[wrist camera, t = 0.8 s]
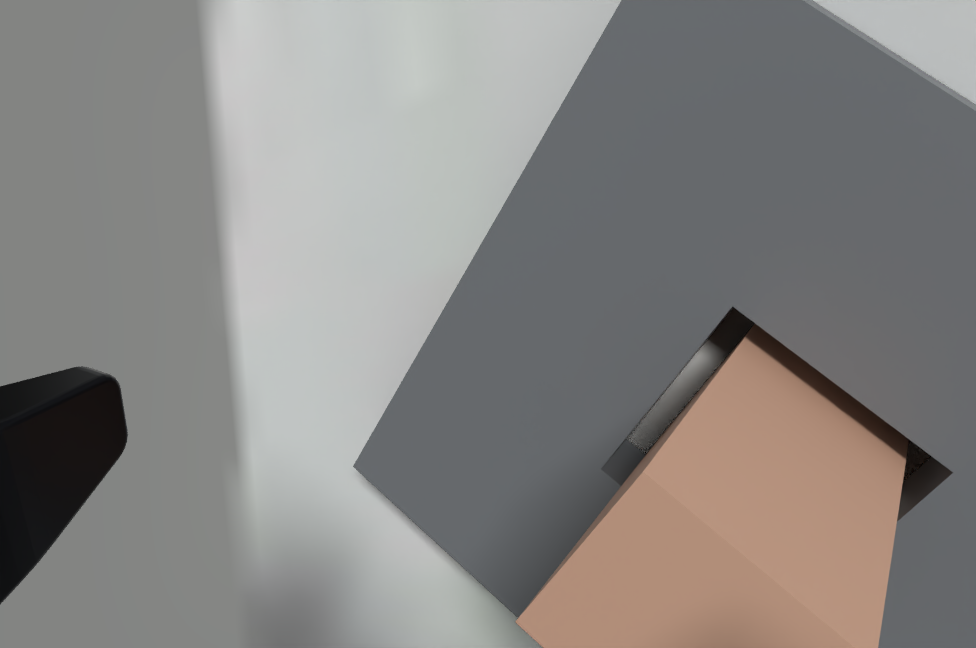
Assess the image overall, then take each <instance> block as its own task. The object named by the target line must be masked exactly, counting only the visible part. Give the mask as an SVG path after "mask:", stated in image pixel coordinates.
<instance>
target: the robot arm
mask: <svg viewBox="0 0 976 648" xmlns="http://www.w3.org/2000/svg"><path fill="white" fill-rule="evenodd" d="M127 433H128V432H127V426H126V419H125V413H124V406H123V400H122V394H121V388H120V385H119V383H118V381H117V380H116V378H115V377H113V376H112V375H110V374H107V373H103V372H101V371H98V370H95V369H92V368H89V367H74V368H70V369H66V370H63V371H59V372H55V373H51V374H47V375H43V376H39V377H35V378H32V379H27V380H23V381H20V382H16V383H12V384H8V385H4V386H0V604H1V603H2V602H3V601H4V600H5V599H6V598H7V596H8V595H9V594H10V593H11V592H12V591H13V590H14V589H15V588H16V587H17V586H18V585H19V584H20V582H21V581H22V580H23V579H24V578H25V577H26V576H27V575H28V573H29V572H30V571H31V570H32V569H33V568H34V567H35V566H36V564H37V563H38V562H39V561H40V560H41V558H42V557H43V556H44V555H45V553H46V552H47V550H49V548H50V547H51V546H52V544H53V543H54V542H55V541H56V539H57V538H58V537H59V536H60V534H61V533H62V532H63V530H64V529H65V528H66V526H67V525H68V524H69V522H70V521H71V520H72V518H73V517H74V516H75V515H76V513H77V512H78V511H79V509H80V508H81V507H82V506H83V504H84V503H85V502H86V500H87V499H88V498H89V496H90V495H91V494H92V492H93V491H94V490H95V489H96V487H97V486H98V485H99V483H100V482H101V481H102V480H103V478H104V477H105V476H106V474H107V473H108V472H109V470H110V469H111V467H112V466H113V465H114V464H115V463H116V461H117V460H118V459H119V457H120V456H121V454H122V452H123V450H124V448H125V446H126V443H127V436H128V434H127Z"/></svg>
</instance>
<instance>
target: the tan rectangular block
mask: <svg viewBox="0 0 976 648" xmlns="http://www.w3.org/2000/svg"><path fill="white" fill-rule="evenodd" d="M908 444H909V439H908V438H907V437H905V436H904V435H903V434H901V433H900V432H899V431H897V430H896V429H895V428H893V427H892V426H891V425H889V424H888V423H887V422H885V421H884V420H883V419H881V418H880V417H879V416H877V415H876V414H875V413H873V412H872V411H871V410H869V409H868V408H867V407H865V406H864V405H863V404H861V403H860V402H859V401H857V400H856V399H855V398H854V397H852V396H851V395H850V394H848V393H847V392H846V391H844V390H843V389H842V388H840V387H839V386H838V385H836V384H835V383H834V382H832V381H831V380H830V379H828V378H827V377H826V376H824V375H823V374H822V373H820V372H819V371H818V370H816V369H815V368H814V367H812V366H811V365H810V364H808V363H807V362H806V361H804V360H803V359H802V358H800V357H799V356H798V355H796V354H795V353H794V352H792V351H791V350H790V349H788V348H787V347H786V346H784V345H783V344H782V343H780V342H779V341H778V340H776V339H775V338H774V337H772V336H771V335H770V334H768V333H767V332H766V331H765V330H763V329H762V328H761V327H759V326H758V325H757V324H754V325H753V326H752V328H751V329H750V330H749V331H748V332H747V334H746V335H745V336H744V337H743V338H742V340H741V341H740V342H739V343H738V344H737V346H736V347H735V348H734V349H733V350H732V351H731V353H730V354H729V355H728V356H727V357H726V359H725V360H724V361H723V362H722V363H721V365H720V366H719V367H718V368H717V369H716V371H715V372H714V373H713V374H712V375H711V376H710V378H709V379H708V380H707V381H706V382H705V384H704V385H703V386H702V387H701V388H700V390H699V391H698V392H697V393H696V394H695V396H694V397H693V398H692V399H691V400H690V402H689V403H688V404H687V405H686V406H685V407H684V409H683V410H682V411H681V412H680V413H679V415H678V416H677V417H676V418H675V419H674V421H673V422H672V423H671V424H670V425H669V427H668V428H667V429H666V430H665V431H664V432H663V434H662V435H661V436H660V437H659V438H658V440H657V441H656V442H655V444H654V445H653V446H652V447H651V449H650V450H649V451H648V453H647V454H646V455H645V456H644V458H643V459H642V460H641V461H640V463H639V464H638V465H637V467H636V468H635V469H634V470H633V472H632V473H631V474H630V476H629V477H628V478H627V479H626V481H625V482H624V483H623V485H622V486H621V487H620V488H619V490H618V491H617V492H616V493H615V495H614V496H613V497H612V499H611V500H610V501H609V502H608V504H607V505H606V506H605V508H604V509H603V510H602V511H601V513H600V514H599V515H598V517H597V518H596V519H595V520H594V522H593V523H592V524H591V526H590V527H589V528H588V529H587V531H586V532H585V533H584V534H583V536H582V537H581V538H580V540H579V541H578V542H577V543H576V545H575V546H574V547H573V549H572V550H571V551H570V552H569V554H568V555H567V556H566V558H565V559H564V560H563V561H562V563H561V564H560V565H559V566H558V568H557V569H556V570H555V572H554V573H553V574H552V575H551V577H550V578H549V579H548V581H547V582H546V583H545V584H544V586H543V587H542V588H541V590H540V591H539V592H538V593H537V595H536V596H535V597H534V598H533V600H532V601H531V602H530V604H529V605H528V606H527V607H526V609H525V610H524V611H523V613H522V614H521V615H520V616H519V618H518V619H517V620H516V623H517V624H518V625H519V626H520V627H521V628H522V629H523V630H524V631H526V632H527V633H528V634H529V635H530V636H531V637H532V638H533V639H534V640H535V641H536V642H538V643H539V644H540V645H541V646H542V647H543V648H878V645H879V638H880V631H881V625H882V618H883V611H884V605H885V598H886V591H887V585H888V578H889V571H890V564H891V558H892V551H893V544H894V538H895V531H896V524H897V518H898V511H899V504H900V498H901V491H902V484H903V478H904V471H905V464H906V458H907V451H908Z"/></svg>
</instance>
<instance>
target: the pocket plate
mask: <svg viewBox="0 0 976 648" xmlns="http://www.w3.org/2000/svg"><path fill="white" fill-rule="evenodd" d="M733 307H734V308H735V309H737V310H738V311H739V312H741V313H742V314H743V315H745V316H746V317H747V318H749V319H750V320H751V321H753V322H754V323H755V324H757V325H758V326H759V327H761V328H762V329H763V330H765V331H766V332H767V333H768V334H770V335H771V336H772V337H774V338H775V339H776V340H778V341H779V342H780V343H782V344H783V345H784V346H786V347H787V348H788V349H790V350H791V351H792V352H794V353H795V354H796V355H798V356H799V357H800V358H802V359H803V360H804V361H806V362H807V363H808V364H810V365H811V366H812V367H814V368H815V369H816V370H818V371H819V372H820V373H822V374H823V375H824V376H826V377H827V378H828V379H830V380H831V381H832V382H834V383H835V384H836V385H838V386H839V387H840V388H842V389H843V390H844V391H846V392H847V393H848V394H850V395H851V396H852V397H854V398H855V399H856V400H857V401H859V402H860V403H861V404H863V405H864V406H865V407H867V408H868V409H869V410H871V411H872V412H873V413H875V414H876V415H877V416H879V417H880V418H881V419H883V420H884V421H885V422H887V423H888V424H889V425H891V426H892V427H893V428H895V429H896V430H897V431H899V432H900V433H901V434H903V435H904V436H905V437H907V438H908V439H909V440H911V441H912V442H913V443H915V444H916V445H917V446H919V447H920V448H921V449H923V450H924V451H925V452H927V453H928V454H929V455H931V456H932V457H931V458H930V459H928V460H927V461H926V462H925V463H924V464H923V465H922V466H921V467H920V468H919V469H917V470H916V471H915V472H914V473H913V474H912V475H911V476H910V477H909V478H907V479H906V480H905V481H904V482H903V484H902V491H901V498H900V504H899V511H898V518H897V524H896V531H895V538H894V544H893V551H892V558H891V564H890V571H889V578H888V585H887V591H886V598H885V605H884V611H883V618H882V625H881V631H880V638H879V645H878V648H976V105H975V104H974V103H972V102H971V101H969V100H968V99H966V98H964V97H963V96H961V95H960V94H958V93H957V92H955V91H953V90H952V89H950V88H949V87H947V86H946V85H944V84H943V83H941V82H939V81H938V80H936V79H935V78H933V77H932V76H930V75H928V74H927V73H925V72H924V71H922V70H921V69H919V68H917V67H916V66H914V65H913V64H911V63H910V62H908V61H906V60H905V59H903V58H902V57H900V56H899V55H897V54H895V53H894V52H892V51H891V50H889V49H888V48H886V47H885V46H883V45H881V44H880V43H878V42H877V41H875V40H874V39H872V38H870V37H869V36H867V35H866V34H864V33H863V32H861V31H859V30H858V29H856V28H855V27H853V26H852V25H850V24H848V23H847V22H845V21H844V20H842V19H841V18H839V17H837V16H836V15H834V14H833V13H831V12H830V11H828V10H826V9H825V8H823V7H822V6H820V5H819V4H817V3H816V2H814V1H812V0H622V1H621V2H620V4H619V6H618V8H617V9H616V11H615V13H614V15H613V16H612V18H611V20H610V21H609V23H608V25H607V27H606V28H605V30H604V32H603V34H602V35H601V37H600V39H599V41H598V42H597V44H596V46H595V48H594V49H593V51H592V53H591V54H590V56H589V58H588V60H587V61H586V63H585V65H584V67H583V68H582V70H581V72H580V74H579V75H578V77H577V79H576V80H575V82H574V84H573V86H572V87H571V89H570V91H569V93H568V94H567V96H566V98H565V100H564V101H563V103H562V105H561V107H560V108H559V110H558V112H557V113H556V115H555V117H554V119H553V120H552V122H551V124H550V126H549V127H548V129H547V131H546V133H545V134H544V136H543V138H542V139H541V141H540V143H539V145H538V146H537V148H536V150H535V152H534V153H533V155H532V157H531V159H530V160H529V162H528V164H527V166H526V167H525V169H524V171H523V172H522V174H521V176H520V178H519V179H518V181H517V183H516V185H515V186H514V188H513V190H512V192H511V193H510V195H509V197H508V198H507V200H506V202H505V204H504V205H503V207H502V209H501V211H500V212H499V214H498V216H497V218H496V219H495V221H494V223H493V225H492V226H491V228H490V230H489V231H488V233H487V235H486V237H485V238H484V240H483V242H482V244H481V245H480V247H479V249H478V251H477V252H476V254H475V256H474V257H473V259H472V261H471V263H470V264H469V266H468V268H467V270H466V271H465V273H464V275H463V277H462V278H461V280H460V282H459V284H458V285H457V287H456V289H455V290H454V292H453V294H452V296H451V297H450V299H449V301H448V303H447V304H446V306H445V308H444V310H443V311H442V313H441V315H440V316H439V318H438V320H437V322H436V323H435V325H434V327H433V329H432V330H431V332H430V334H429V336H428V337H427V339H426V341H425V343H424V344H423V346H422V348H421V349H420V351H419V353H418V355H417V356H416V358H415V360H414V362H413V363H412V365H411V367H410V369H409V370H408V372H407V374H406V375H405V377H404V379H403V381H402V382H401V384H400V386H399V388H398V389H397V391H396V393H395V395H394V396H393V398H392V400H391V402H390V403H389V405H388V407H387V408H386V410H385V412H384V414H383V415H382V417H381V419H380V421H379V422H378V424H377V426H376V428H375V429H374V431H373V433H372V434H371V436H370V438H369V440H368V441H367V443H366V445H365V447H364V448H363V450H362V452H361V454H360V455H359V457H358V459H357V461H356V462H355V464H354V466H353V467H354V468H355V469H356V470H357V471H359V472H360V473H361V474H362V475H363V476H364V477H365V478H366V479H367V480H368V481H369V482H371V483H372V484H373V485H374V486H375V487H376V488H377V489H378V490H379V491H380V492H381V493H383V494H384V495H385V496H386V497H387V498H388V499H389V500H390V501H391V502H392V503H393V504H395V505H396V506H397V507H398V508H399V509H400V510H401V511H402V512H403V513H404V514H405V515H407V516H408V517H409V518H410V519H411V520H412V521H413V522H414V523H415V524H416V525H417V526H419V527H420V528H421V529H422V530H423V531H424V532H425V533H426V534H427V535H428V536H429V537H431V538H432V539H433V540H434V541H435V542H436V543H437V544H438V545H439V546H440V547H441V548H443V549H444V550H445V551H446V552H447V553H448V554H449V555H450V556H451V557H452V558H453V559H455V560H456V561H457V562H458V563H459V564H460V565H461V566H462V567H463V568H464V569H465V570H467V571H468V572H469V573H470V574H471V575H472V576H473V577H474V578H475V579H476V580H477V581H479V582H480V583H481V584H482V585H483V586H484V587H485V588H486V589H487V590H488V591H489V592H491V593H492V594H493V595H494V596H495V597H496V598H497V599H498V600H499V601H500V602H501V603H502V604H504V605H505V606H506V607H507V608H508V609H509V610H510V611H511V612H512V613H513V614H514V615H516V616H517V617H518V618H519V616H520V615H521V614H522V613H523V611H524V610H525V609H526V607H527V606H528V605H529V604H530V602H531V601H532V600H533V598H534V597H535V596H536V595H537V593H538V592H539V591H540V590H541V588H542V587H543V586H544V584H545V583H546V582H547V581H548V579H549V578H550V577H551V575H552V574H553V573H554V572H555V570H556V569H557V568H558V566H559V565H560V564H561V563H562V561H563V560H564V559H565V558H566V556H567V555H568V554H569V552H570V551H571V550H572V549H573V547H574V546H575V545H576V543H577V542H578V541H579V540H580V538H581V537H582V536H583V534H584V533H585V532H586V531H587V529H588V528H589V527H590V526H591V524H592V523H593V522H594V520H595V519H596V518H597V517H598V515H599V514H600V513H601V511H602V510H603V509H604V508H605V506H606V505H607V504H608V502H609V501H610V500H611V499H612V497H613V496H614V495H615V493H616V492H617V491H618V490H619V488H620V487H621V486H622V485H623V483H624V482H625V481H626V479H627V478H628V477H629V476H630V474H631V473H632V472H633V470H634V469H635V468H636V467H637V465H638V464H639V463H640V461H641V460H642V459H643V458H644V456H645V454H644V453H643V452H642V451H640V450H639V449H638V448H637V447H635V446H634V445H633V444H632V443H631V442H629V441H628V440H627V438H628V437H629V435H630V434H631V433H632V432H633V430H634V429H635V428H636V427H637V425H638V424H639V423H640V422H641V420H642V419H643V418H644V417H645V416H646V414H647V413H648V412H649V411H650V409H651V408H652V407H653V406H654V404H655V403H656V402H657V401H658V400H659V398H660V397H661V396H662V395H663V393H664V392H665V391H666V390H667V388H668V387H669V386H670V385H671V383H672V382H673V381H674V380H675V379H676V377H677V376H678V375H679V374H680V372H681V371H682V370H683V369H684V367H685V366H686V365H687V364H688V363H689V361H690V360H691V359H692V358H693V356H694V355H695V354H696V353H697V351H698V350H699V349H700V348H701V347H702V345H703V344H704V343H705V342H706V340H707V339H708V338H709V337H710V335H711V334H712V333H713V332H714V330H715V329H716V328H717V327H718V326H719V324H720V323H721V322H722V321H723V319H724V318H725V317H726V316H727V314H728V313H729V312H730V311H731V310H732V308H733Z"/></svg>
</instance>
